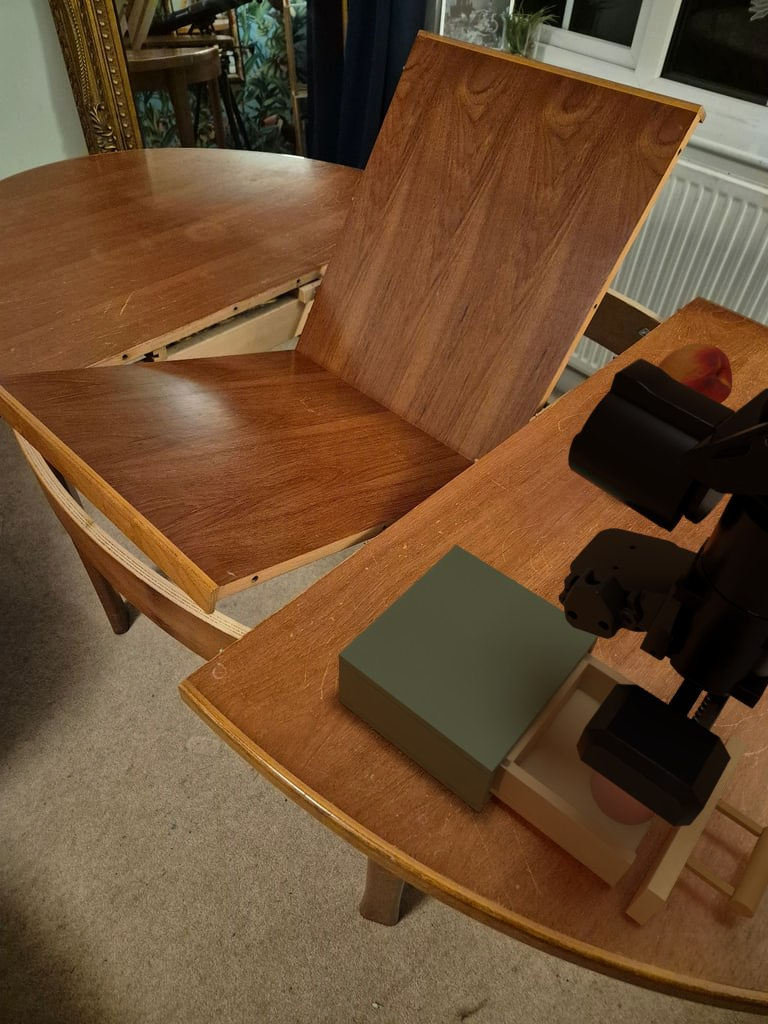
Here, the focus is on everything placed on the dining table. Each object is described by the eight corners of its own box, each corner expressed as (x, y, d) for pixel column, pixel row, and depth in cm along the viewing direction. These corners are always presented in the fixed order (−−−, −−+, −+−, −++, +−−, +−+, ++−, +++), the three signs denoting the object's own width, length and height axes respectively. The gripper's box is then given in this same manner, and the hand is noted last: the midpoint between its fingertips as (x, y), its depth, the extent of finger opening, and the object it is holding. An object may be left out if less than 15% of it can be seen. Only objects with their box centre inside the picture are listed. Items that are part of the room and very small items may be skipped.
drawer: (787, 816, 53) (818, 787, 49) (712, 981, 45) (743, 960, 42) (575, 677, 60) (589, 643, 57) (481, 799, 53) (491, 768, 49)
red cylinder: (670, 788, 53) (705, 740, 48) (640, 840, 50) (673, 795, 45) (610, 746, 55) (637, 697, 50) (578, 794, 52) (603, 747, 47)
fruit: (675, 432, 85) (700, 374, 79) (634, 392, 90) (654, 334, 84) (730, 418, 87) (757, 361, 81) (686, 380, 92) (709, 323, 87)
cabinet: (580, 680, 61) (600, 633, 56) (478, 813, 53) (492, 771, 48) (447, 593, 67) (456, 544, 62) (338, 700, 59) (338, 653, 54)
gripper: (686, 415, 44) (616, 581, 55) (515, 600, 34) (472, 759, 45) (883, 504, 39) (764, 667, 50) (754, 751, 29) (640, 888, 40)
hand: (662, 734), depth 47 cm, fingers open, 9 cm apart
